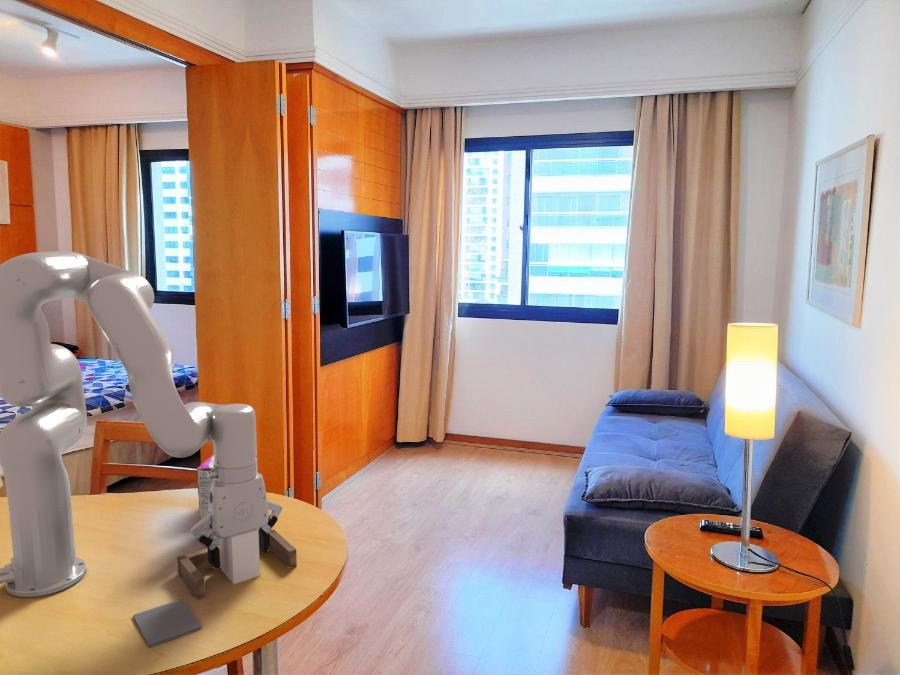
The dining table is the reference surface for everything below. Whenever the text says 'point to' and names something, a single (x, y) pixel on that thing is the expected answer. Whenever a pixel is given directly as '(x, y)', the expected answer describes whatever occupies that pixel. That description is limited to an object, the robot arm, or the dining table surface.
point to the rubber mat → (166, 622)
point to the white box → (240, 556)
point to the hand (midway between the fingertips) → (239, 558)
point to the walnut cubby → (198, 560)
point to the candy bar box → (204, 489)
